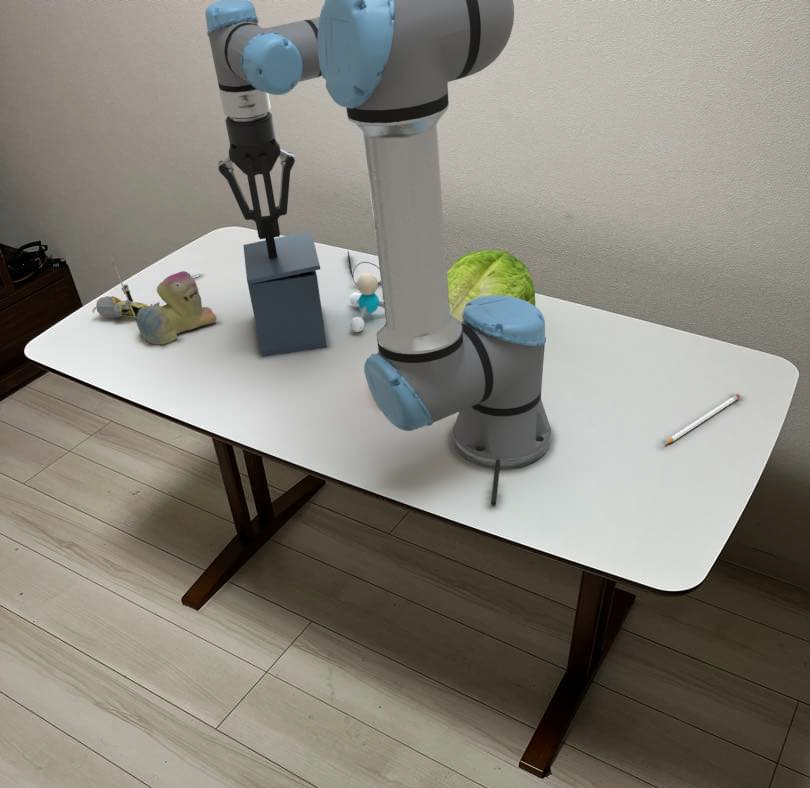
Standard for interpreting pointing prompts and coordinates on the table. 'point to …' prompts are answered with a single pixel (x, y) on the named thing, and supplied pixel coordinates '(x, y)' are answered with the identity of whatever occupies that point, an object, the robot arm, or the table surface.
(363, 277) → the molecule model
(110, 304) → the toy
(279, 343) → the storage box
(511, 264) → the lettuce
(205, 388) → the table surface
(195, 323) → the sculpture
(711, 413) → the pencil
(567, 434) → the table surface
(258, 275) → the lid
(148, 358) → the table surface
